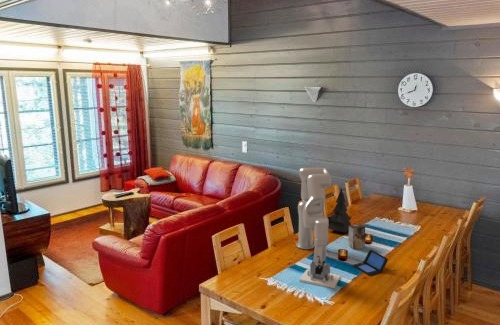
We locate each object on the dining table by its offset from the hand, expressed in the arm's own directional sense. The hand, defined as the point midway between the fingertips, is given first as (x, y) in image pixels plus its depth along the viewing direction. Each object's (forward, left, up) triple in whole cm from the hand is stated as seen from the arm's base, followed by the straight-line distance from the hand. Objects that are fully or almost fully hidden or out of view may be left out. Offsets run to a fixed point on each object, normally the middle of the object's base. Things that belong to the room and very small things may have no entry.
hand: (320, 270), depth 223 cm
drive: (0, 0, -4) cm, 4 cm away
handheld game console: (-25, +24, -6) cm, 34 cm away
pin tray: (0, 0, -5) cm, 5 cm away
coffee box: (-54, +10, -5) cm, 55 cm away
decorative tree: (-79, -7, -5) cm, 80 cm away
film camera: (-96, -16, -6) cm, 98 cm away
